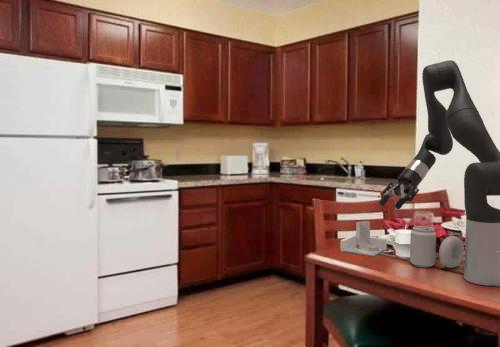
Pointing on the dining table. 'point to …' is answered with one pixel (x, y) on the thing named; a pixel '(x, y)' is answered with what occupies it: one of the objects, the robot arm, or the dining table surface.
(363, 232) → the bracket
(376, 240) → the walls
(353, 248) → the base plate
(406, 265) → the dining table surface
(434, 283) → the dining table surface
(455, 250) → the donut
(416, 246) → the can
